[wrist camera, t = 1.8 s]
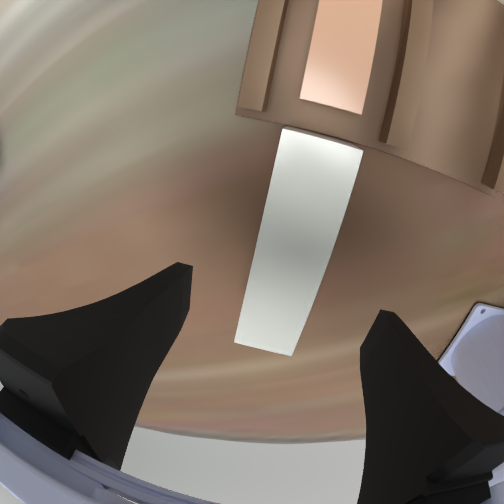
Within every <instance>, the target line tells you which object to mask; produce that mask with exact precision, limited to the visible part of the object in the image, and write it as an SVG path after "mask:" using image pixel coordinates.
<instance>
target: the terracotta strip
mask: <svg viewBox="0 0 504 504" xmlns="http://www.w3.org/2000/svg"><path fill="white" fill-rule="evenodd" d="M382 1H383V0H319V5H318V10H317V15H316V20H315V25H314V30H313V35H312V40H311V45H310V50H309V55H308V60H307V64H306V69H305V74H304V79H303V84H302V89H301V93H300V98H299V99H300V101H305V102H309V103H313V104H317V105H321V106H325V107H329V108H333V109H336V110H340V111H344V112H347V113H350V114H354V115H362V111H363V106H364V102H365V97H366V92H367V88H368V83H369V78H370V73H371V68H372V63H373V57H374V52H375V46H376V40H377V35H378V28H379V22H380V15H381V9H382Z"/></svg>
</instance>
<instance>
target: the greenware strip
mask: <svg viewBox="0 0 504 504" xmlns="http://www.w3.org/2000/svg"><path fill="white" fill-rule="evenodd" d="M362 154H363V150H361V149H360V148H358V147H356V146H355V145H353V144H351V143H350V142H348V141H346V140H342V139H339V138H336V137H332V136H329V135H325V134H321V133H318V132H314V131H310V130H306V129H302V128H298V127H294V126H289V125H287V126H286V127H284V128H283V129H282V133H281V138H280V142H279V146H278V151H277V155H276V160H275V164H274V169H273V173H272V178H271V182H270V186H269V191H268V195H267V200H266V204H265V209H264V213H263V217H262V222H261V226H260V231H259V235H258V239H257V244H256V248H255V253H254V257H253V262H252V266H251V270H250V275H249V279H248V283H247V288H246V292H245V297H244V301H243V305H242V310H241V314H240V319H239V323H238V327H237V332H236V336H235V340H234V342H235V343H239V344H243V345H247V346H251V347H255V348H259V349H263V350H267V351H271V352H276V353H280V354H284V355H289V356H292V354H293V351H294V349H295V346H296V344H297V342H298V339H299V337H300V334H301V332H302V330H303V327H304V325H305V322H306V320H307V317H308V315H309V312H310V310H311V307H312V304H313V302H314V299H315V297H316V294H317V291H318V289H319V286H320V283H321V281H322V278H323V275H324V273H325V270H326V267H327V264H328V261H329V259H330V256H331V253H332V250H333V247H334V244H335V241H336V238H337V236H338V233H339V230H340V227H341V224H342V220H343V217H344V214H345V211H346V208H347V205H348V202H349V198H350V195H351V192H352V189H353V185H354V182H355V179H356V175H357V172H358V168H359V165H360V161H361V158H362Z"/></svg>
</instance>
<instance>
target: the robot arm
mask: <svg viewBox="0 0 504 504" xmlns="http://www.w3.org/2000/svg"><path fill="white" fill-rule="evenodd" d="M192 271H193V266H191V265H187V264H183V263H179V262H177V263H175V264H173V265H171V266H169V267H168V268H166V269H164V270H162V271H160V272H159V273H157V274H155V275H153V276H151V277H150V278H148V279H146V280H144V281H142V282H140V283H139V284H136V285H134V286H132V287H130V288H128V289H126V290H124V291H122V292H120V293H118V294H116V295H113V296H111V297H108V298H106V299H103V300H100V301H98V302H95V303H92V304H89V305H86V306H82V307H78V308H75V309H71V310H68V311H64V312H59V313H54V314H48V315H42V316H35V317H24V318H10V319H7V320H6V321H5V322H4V323H3V324H2V325H1V326H0V381H1V383H2V385H3V386H4V387H3V389H2V390H1V391H0V484H1V485H2V486H3V487H4V488H6V489H7V490H8V491H9V492H10V493H12V495H14V496H15V497H16V498H17V499H18V500H20V501H21V502H22V503H24V504H134V503H132V502H130V501H128V500H131V501H133V502H136V503H139V504H219V503H215V502H210V501H206V500H202V499H198V498H195V497H191V496H188V495H184V494H181V493H178V492H174V491H171V490H168V489H165V488H162V487H159V486H156V485H154V484H151V483H148V482H145V481H143V480H140V479H138V478H135V477H133V476H130V475H128V474H126V473H123V472H121V471H120V469H121V466H122V462H123V459H124V456H125V452H126V449H127V446H128V442H129V439H130V437H131V434H132V431H133V428H134V425H135V422H136V419H137V417H138V414H139V411H140V409H141V406H142V404H143V401H144V399H145V396H146V394H147V391H148V389H149V387H150V384H151V382H152V380H153V378H154V376H155V374H156V372H157V370H158V369H159V367H160V365H161V364H162V362H163V360H164V358H165V357H166V355H167V353H168V351H169V350H170V348H171V346H172V345H173V343H174V341H175V339H176V338H177V336H178V334H179V332H180V331H181V328H182V326H183V324H184V321H185V319H186V316H187V314H188V311H189V308H190V294H191V282H192ZM482 309H483V310H482ZM481 310H482V311H481ZM360 372H361V381H362V389H363V396H364V405H365V413H366V450H365V461H364V469H363V476H362V483H361V489H360V493H359V498H358V502H357V504H504V309H503V308H499V307H495V306H491V305H486V304H482V303H478V304H476V305H475V306H474V307H473V309H472V311H471V313H470V314H469V316H468V318H467V319H466V321H465V322H464V324H463V326H462V327H461V329H460V330H459V332H458V333H457V335H456V336H455V338H454V339H453V341H452V342H451V344H450V345H449V347H448V348H447V350H446V351H445V353H444V354H443V355H442V357H441V358H440V360H439V361H438V362H437V361H436V360H435V359H434V357H433V356H432V355H431V354H430V353H429V352H428V351H427V349H426V348H425V347H424V346H423V345H422V344H421V342H420V341H419V340H418V339H417V338H416V336H415V335H414V334H413V333H412V332H411V330H410V329H409V328H408V327H407V326H406V324H405V323H404V322H403V321H402V320H401V319H400V318H399V317H398V316H397V315H396V314H395V313H394V312H390V311H385V310H380V311H379V313H378V315H377V317H376V319H375V321H374V323H373V325H372V327H371V329H370V331H369V333H368V334H367V336H366V338H365V340H364V342H363V344H362V345H361V347H360ZM451 375H452V376H456V379H457V381H458V382H457V381H456V380H455V379H454V378H453V377H452V376H451ZM114 493H115V494H114ZM116 494H117V495H116ZM118 495H119V496H118ZM120 496H121V497H120ZM122 497H124V498H126V499H128V500H126V499H124V498H122Z"/></svg>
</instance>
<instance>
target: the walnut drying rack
mask: <svg viewBox="0 0 504 504" xmlns="http://www.w3.org/2000/svg"><path fill="white" fill-rule="evenodd" d="M318 5H319V0H259V1H258V5H257V10H256V14H255V18H254V23H253V27H252V32H251V37H250V41H249V46H248V51H247V56H246V61H245V66H244V71H243V76H242V81H241V86H240V91H239V96H238V102H237V107H236V113H235V115H237V116H243V117H249V118H255V119H260V120H265V121H270V122H275V123H280V124H285V125H289V126H294V127H298V128H303V129H307V130H311V131H315V132H319V133H323V134H327V135H330V136H334V137H338V138H341V139H345V140H348V141H352V142H355V143H358V144H362V145H365V146H368V147H371V148H374V149H377V150H381V151H384V152H387V153H389V154H392V155H395V156H398V157H401V158H404V159H406V160H409V161H412V162H415V163H417V164H420V165H422V166H425V167H427V168H430V169H432V170H435V171H437V172H440V173H442V174H445V175H447V176H449V177H452V178H454V179H456V180H458V181H461V182H463V183H465V184H467V185H469V186H472V187H474V188H476V189H478V190H480V191H482V192H484V193H486V194H488V195H490V196H492V197H494V198H495V195H496V192H497V191H498V192H500V193H501V194H503V195H504V5H503V4H501V3H500V2H498V1H497V0H383V1H382V9H381V15H380V22H379V28H378V35H377V40H376V46H375V52H374V57H373V63H372V68H371V73H370V78H369V83H368V88H367V92H366V97H365V102H364V106H363V111H362V115H354V114H350V113H347V112H344V111H340V110H336V109H333V108H329V107H325V106H321V105H317V104H313V103H309V102H305V101H300V99H299V98H300V93H301V89H302V84H303V79H304V74H305V69H306V64H307V60H308V55H309V50H310V45H311V40H312V35H313V30H314V25H315V20H316V15H317V10H318Z"/></svg>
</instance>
